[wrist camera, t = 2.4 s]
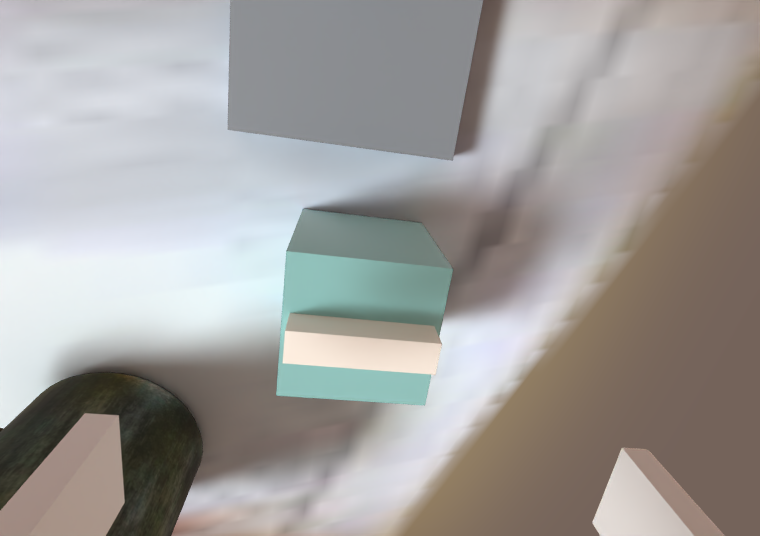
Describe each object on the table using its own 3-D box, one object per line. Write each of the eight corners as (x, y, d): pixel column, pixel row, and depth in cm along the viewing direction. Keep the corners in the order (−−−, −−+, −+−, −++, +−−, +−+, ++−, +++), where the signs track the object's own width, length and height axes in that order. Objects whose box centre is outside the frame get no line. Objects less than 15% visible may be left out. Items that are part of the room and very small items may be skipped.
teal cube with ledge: (294, 317, 26) (270, 418, 17) (303, 208, 24) (281, 264, 15) (403, 327, 27) (431, 428, 18) (421, 222, 25) (463, 282, 16)
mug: (175, 519, 31) (78, 759, 19) (-53, 446, 27) (-334, 685, 16) (240, 404, 28) (171, 606, 16) (-5, 305, 24) (-306, 476, 13)
